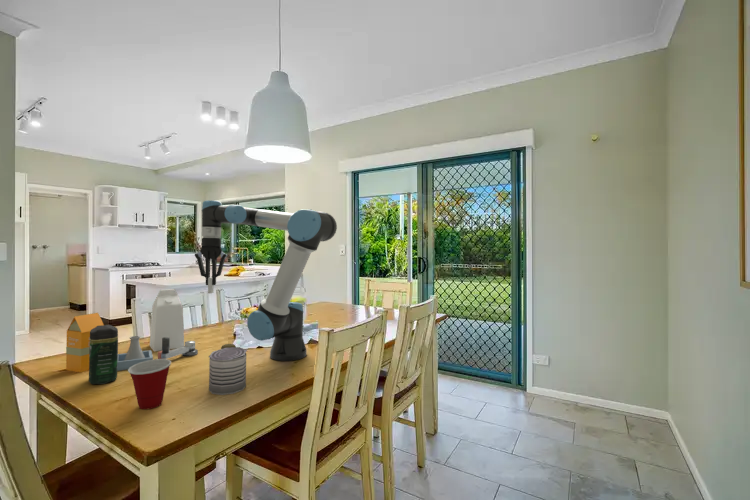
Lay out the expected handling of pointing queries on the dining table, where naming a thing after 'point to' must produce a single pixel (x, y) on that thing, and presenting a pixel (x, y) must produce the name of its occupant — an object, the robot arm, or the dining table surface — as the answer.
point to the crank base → (190, 353)
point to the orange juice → (80, 341)
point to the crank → (168, 354)
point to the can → (227, 371)
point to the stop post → (159, 355)
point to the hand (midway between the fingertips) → (210, 292)
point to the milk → (167, 320)
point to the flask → (134, 349)
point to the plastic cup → (150, 382)
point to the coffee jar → (103, 354)
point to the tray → (128, 363)
